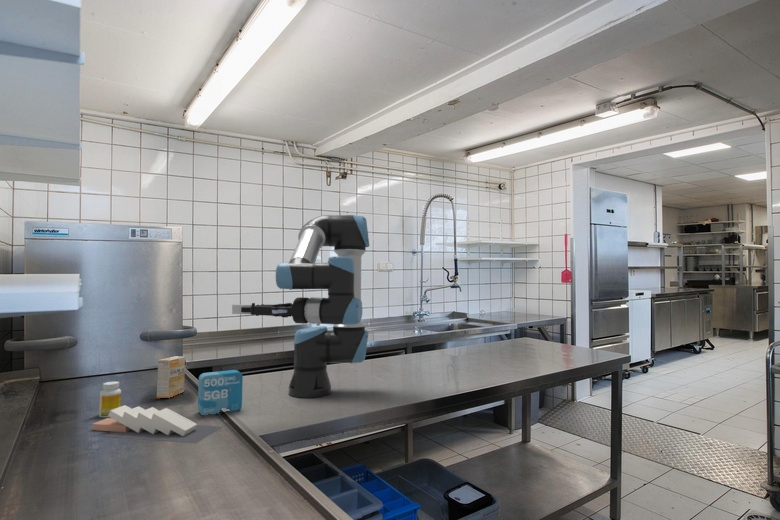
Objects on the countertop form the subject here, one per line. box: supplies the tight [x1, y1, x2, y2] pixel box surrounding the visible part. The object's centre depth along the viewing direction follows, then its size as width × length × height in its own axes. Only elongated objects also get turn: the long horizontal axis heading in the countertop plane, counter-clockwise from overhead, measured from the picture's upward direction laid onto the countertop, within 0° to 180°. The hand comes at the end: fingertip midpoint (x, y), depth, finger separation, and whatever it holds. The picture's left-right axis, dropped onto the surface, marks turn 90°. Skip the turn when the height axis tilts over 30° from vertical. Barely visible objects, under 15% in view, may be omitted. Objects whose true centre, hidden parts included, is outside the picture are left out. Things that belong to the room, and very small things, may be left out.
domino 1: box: [91, 417, 132, 432], centre depth 114 cm, size 2×5×10 cm
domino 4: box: [137, 406, 174, 435], centre depth 112 cm, size 2×5×10 cm
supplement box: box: [156, 355, 186, 399], centre depth 148 cm, size 8×5×13 cm, turn 168°
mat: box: [102, 424, 223, 444], centre depth 112 cm, size 26×12×1 cm, turn 81°
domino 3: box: [123, 406, 159, 434], centre depth 113 cm, size 2×5×10 cm
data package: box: [197, 369, 244, 416], centre depth 130 cm, size 12×4×12 cm, turn 123°
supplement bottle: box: [98, 381, 122, 418], centre depth 126 cm, size 5×5×10 cm
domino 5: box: [151, 407, 198, 436], centre depth 112 cm, size 2×5×10 cm
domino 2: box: [108, 405, 145, 433], centre depth 114 cm, size 2×5×10 cm
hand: (233, 309), depth 127 cm, fingers closed
